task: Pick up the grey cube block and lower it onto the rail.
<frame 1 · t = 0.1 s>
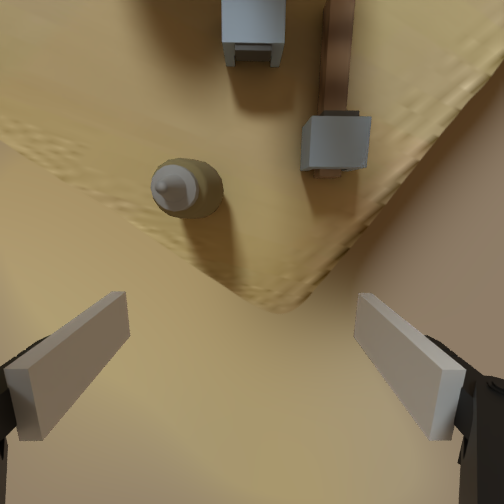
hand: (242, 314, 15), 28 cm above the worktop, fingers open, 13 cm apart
fixed finger: (326, 149, 39), resting on rail
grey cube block: (252, 42, 36), on the worktop
squeeze bottle: (200, 190, 41), on the worktop
rail: (328, 98, 38), on the worktop
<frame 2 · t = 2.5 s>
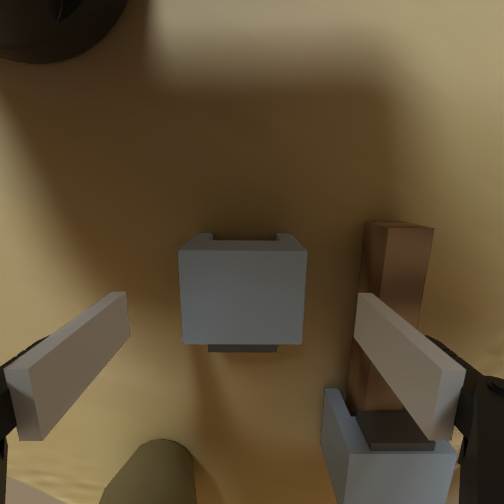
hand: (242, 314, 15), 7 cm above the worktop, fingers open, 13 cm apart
fixed finger: (362, 415, 24), resting on rail
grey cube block: (244, 269, 21), on the worktop
squeeze bottle: (164, 458, 26), on the worktop
rail: (368, 345, 23), on the worktop
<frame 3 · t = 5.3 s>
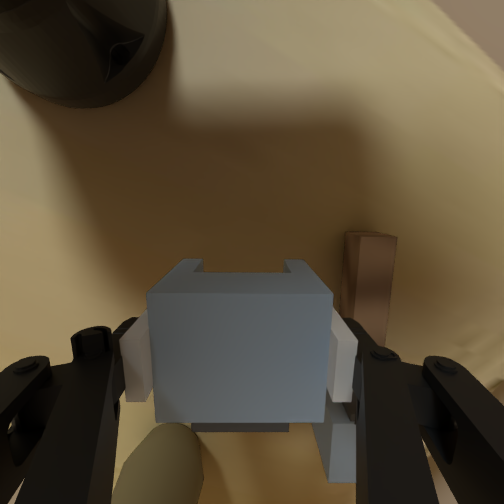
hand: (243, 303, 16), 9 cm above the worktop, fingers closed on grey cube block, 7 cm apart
fixed finger: (348, 400, 28), resting on rail
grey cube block: (243, 304, 17), point 9 cm above the worktop, touching gripper
squeeze bottle: (173, 441, 30), on the worktop
rail: (351, 337, 27), on the worktop
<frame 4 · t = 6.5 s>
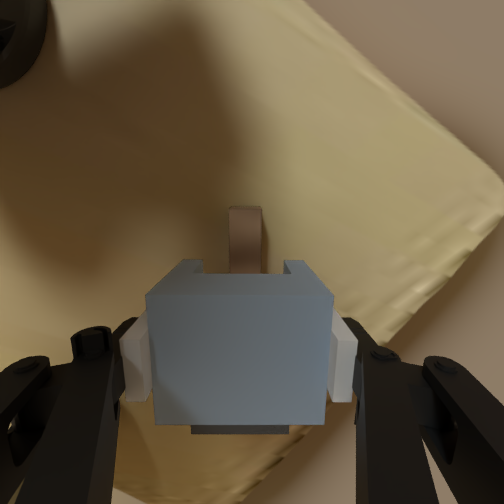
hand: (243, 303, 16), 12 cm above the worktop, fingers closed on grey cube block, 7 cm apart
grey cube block: (243, 305, 17), point 12 cm above the worktop, touching gripper
rail: (245, 304, 30), on the worktop
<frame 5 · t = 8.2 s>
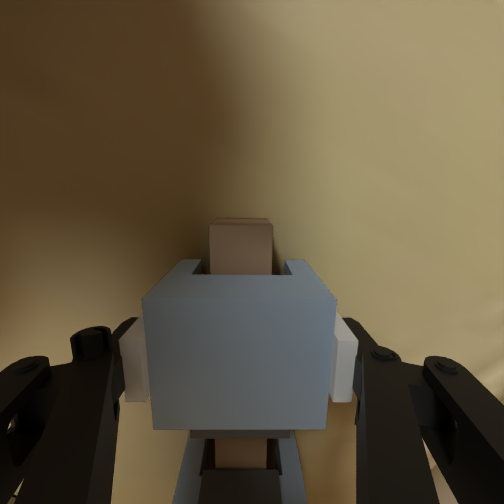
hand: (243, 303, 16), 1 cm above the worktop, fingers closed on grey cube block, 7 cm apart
fixed finger: (242, 464, 19), resting on rail
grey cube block: (243, 305, 16), resting in rail, touching gripper
rail: (242, 377, 18), on the worktop
when the fingers open (1 cm above the worktop, at t = 8.8 s): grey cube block stays where it is, resting on rail.
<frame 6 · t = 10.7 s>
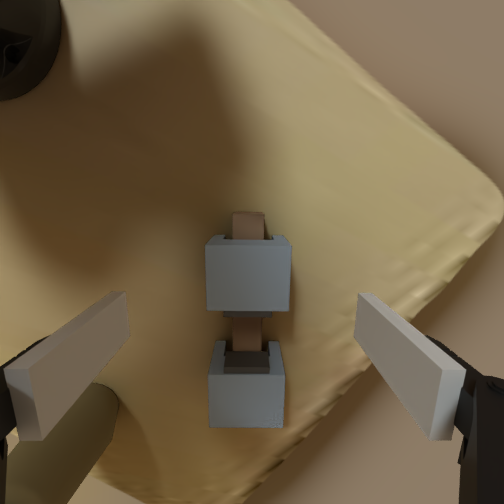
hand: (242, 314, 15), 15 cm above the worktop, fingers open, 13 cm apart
fixed finger: (247, 363, 31), resting on rail
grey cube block: (248, 262, 29), resting on rail
squeeze bottle: (97, 400, 33), on the worktop
rail: (247, 307, 30), on the worktop
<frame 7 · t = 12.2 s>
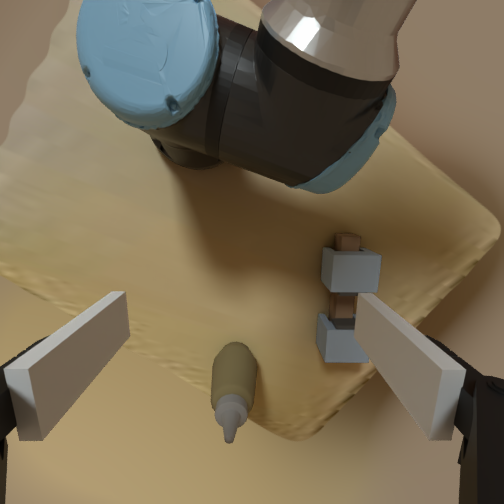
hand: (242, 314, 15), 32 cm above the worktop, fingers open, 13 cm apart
fixed finger: (336, 328, 49), resting on rail
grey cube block: (342, 264, 47), resting on rail
squeeze bottle: (236, 354, 51), on the worktop
rail: (338, 292, 48), on the worktop
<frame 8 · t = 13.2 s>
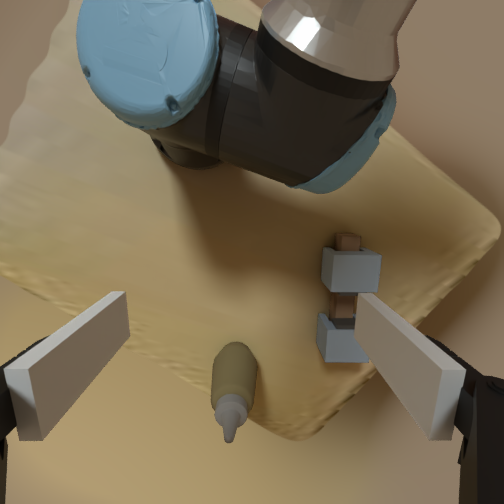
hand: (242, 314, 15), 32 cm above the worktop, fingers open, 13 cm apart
fixed finger: (336, 328, 49), resting on rail
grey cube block: (342, 263, 47), resting on rail
squeeze bottle: (236, 354, 51), on the worktop
rail: (338, 292, 48), on the worktop
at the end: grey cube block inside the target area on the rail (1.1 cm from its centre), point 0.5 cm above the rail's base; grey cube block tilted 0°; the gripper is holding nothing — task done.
